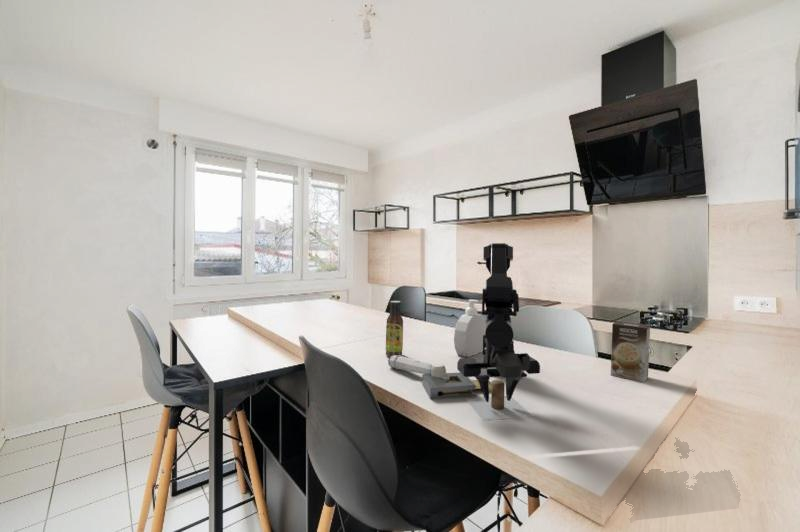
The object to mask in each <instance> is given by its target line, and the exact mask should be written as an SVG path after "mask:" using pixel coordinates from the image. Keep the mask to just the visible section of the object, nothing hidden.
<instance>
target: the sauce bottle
mask: <svg viewBox="0 0 800 532" xmlns="http://www.w3.org/2000/svg"><path fill="white" fill-rule="evenodd" d="M389 301H390V302H389V315H388V317H387V318H386V325H385V327H386V328H385V355H386V356H387V357H390V356H393V355H396V356H399V355H402V356H403V346H404V319H403V317H402V315H401V306H402V302H401V300H389Z"/></svg>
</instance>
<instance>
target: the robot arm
mask: <svg viewBox="0 0 800 532" xmlns="http://www.w3.org/2000/svg"><path fill="white" fill-rule="evenodd" d="M482 259H483V261H485V267H486V269H487V270H488V272H489V274H490V276H489V277H488V278H486V279H485V288H482V295H481V296H482V299H481V300H482V301H481V315H482V316H483V315H485V316H486V318H485V322H486V331H485V335H483V352H482V355H484V356H483V361H477V359H476V358H474V357H465V358H459V359H458V360H457V366H456V369H457V371H458V373H461V374H462V375H463V376H465V377H468V378H472V377H473V378H475V380H478V382H479V384H480V387H481V389H480V391H482V394H483V397H484V398H485V401H486V402H489V397H490V391H489V387H488V381H490V379H491V378H497V377H500V378H503V379H505V395H506V397H507V400H508V401H510V400H511V397H512V398H513V395H514V392H515V390H516V388H517V385H518V383H519V381H521V379H523V378H526V377H528V374H529V375H530V374H531V375H532V374H540V373H541V365H540V362H539V361H538V360H537V359H535V358H533V357H532V356H530V355H529V353H527V352H523V353H516V352H515V345H514V342H515V341H514V329H513V325H512V318H511V317H517V314H518V312H519V311H520V304H519V303H520V300H519V299H520V298H519V293H518V292H517V291H518V290H517V289H514V286H513V280H512V279H511V278H510V277H508V273H507V272H508V271H509V269H510V268H511V261H514V246H511V245H508V243H505V242H504V243H503V242H502V243H499V242H498V243H497V242H496V243H495V242H494V243H490V244H489V245H486V246H483V257H482ZM525 372H526V373H525Z"/></svg>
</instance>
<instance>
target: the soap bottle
mask: <svg viewBox="0 0 800 532" xmlns="http://www.w3.org/2000/svg"><path fill="white" fill-rule="evenodd" d="M475 303H479V300H478V299H468V306H467V307H466V308H465V310H464V312H465V314H462V315H460V317H459V318H458V320H457V321H456V325H455V328H454V336H453V343H454V349H455V352H456V355H457V354H458V356H461V355H462V357H465V356H467V357H466V358H470V357H472V355H473V356H475V355H477V354H476V353H478V354H480V353H482V352H481V351H483V335H485V331H486V318H485V317H484V316H483V315H482V313H480V314H479V313H478V309H477V308H476V307H475ZM479 352H480V353H479ZM474 354H475V355H474ZM469 356H470V357H469Z"/></svg>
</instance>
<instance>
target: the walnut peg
mask: <svg viewBox="0 0 800 532" xmlns="http://www.w3.org/2000/svg"><path fill="white" fill-rule="evenodd" d="M491 383H492V387H491V391H490V393H491V395H490V397H491V407H492V408H493V409H496V410H502V409H504V396H505V382H504V381H503V380H498V379H494V380H492V381H491Z"/></svg>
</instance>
